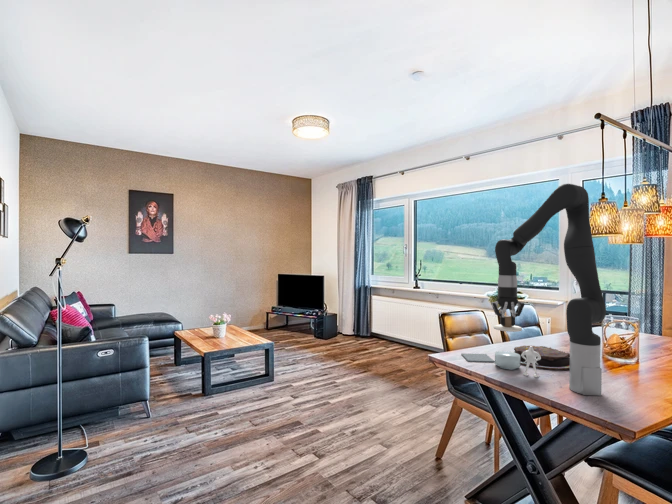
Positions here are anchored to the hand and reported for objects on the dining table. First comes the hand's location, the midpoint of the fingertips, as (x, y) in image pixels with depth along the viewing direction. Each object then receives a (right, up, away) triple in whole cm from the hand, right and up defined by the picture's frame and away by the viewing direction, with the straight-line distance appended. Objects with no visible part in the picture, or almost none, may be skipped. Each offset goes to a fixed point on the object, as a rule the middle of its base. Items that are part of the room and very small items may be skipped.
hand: (507, 325), depth 160 cm
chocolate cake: (+20, -19, +10) cm, 29 cm away
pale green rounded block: (0, -18, 0) cm, 18 cm away
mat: (-8, -18, +13) cm, 23 cm away
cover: (0, -1, 0) cm, 1 cm away
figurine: (+4, -18, -11) cm, 22 cm away
